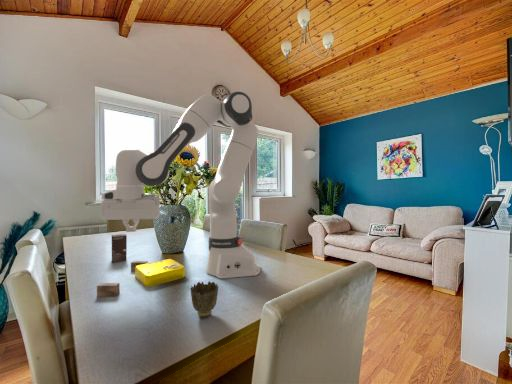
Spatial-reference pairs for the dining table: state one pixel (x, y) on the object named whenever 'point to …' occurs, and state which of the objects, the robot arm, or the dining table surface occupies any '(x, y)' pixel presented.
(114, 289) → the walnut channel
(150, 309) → the dining table surface
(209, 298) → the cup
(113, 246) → the box
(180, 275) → the element tile
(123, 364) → the dining table surface
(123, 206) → the robot arm
